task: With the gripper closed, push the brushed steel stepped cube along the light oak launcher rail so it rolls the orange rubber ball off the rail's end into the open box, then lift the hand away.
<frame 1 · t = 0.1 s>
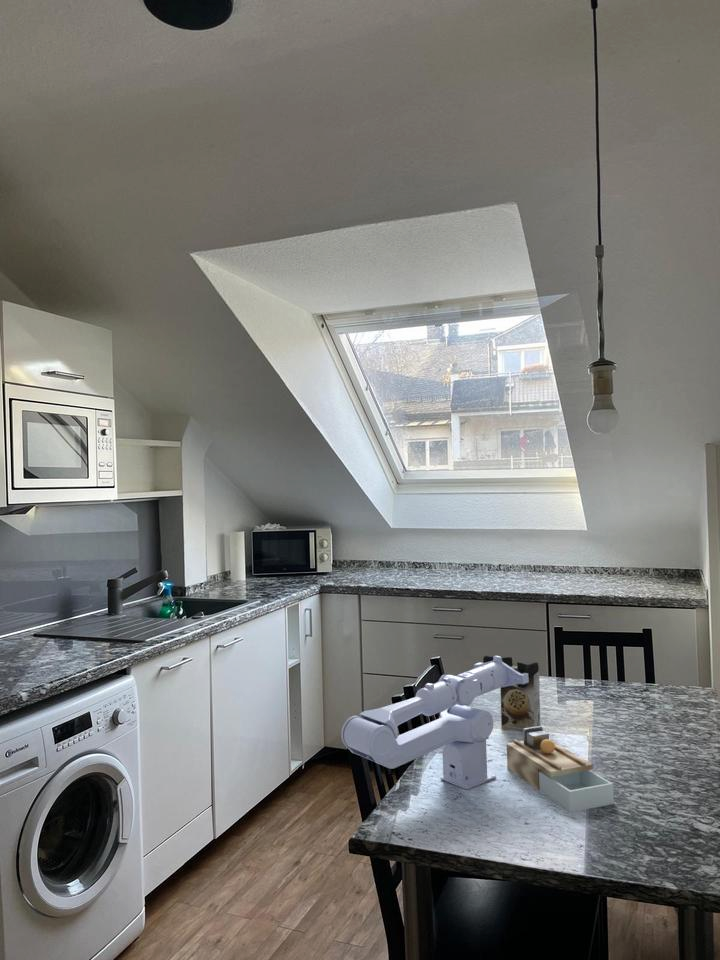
hand: (523, 664, 175), 22 cm above the table, tool horizontal, fingers open, 7 cm apart
launcher: (546, 777, 161), on the table
coffee box: (521, 728, 195), on the table
brushed steel stepped cube: (536, 737, 165), point 8 cm above the table, slide at 0.0 cm
ball: (547, 746, 161), point 7 cm above the table, touching launcher
open box: (575, 797, 151), on the table
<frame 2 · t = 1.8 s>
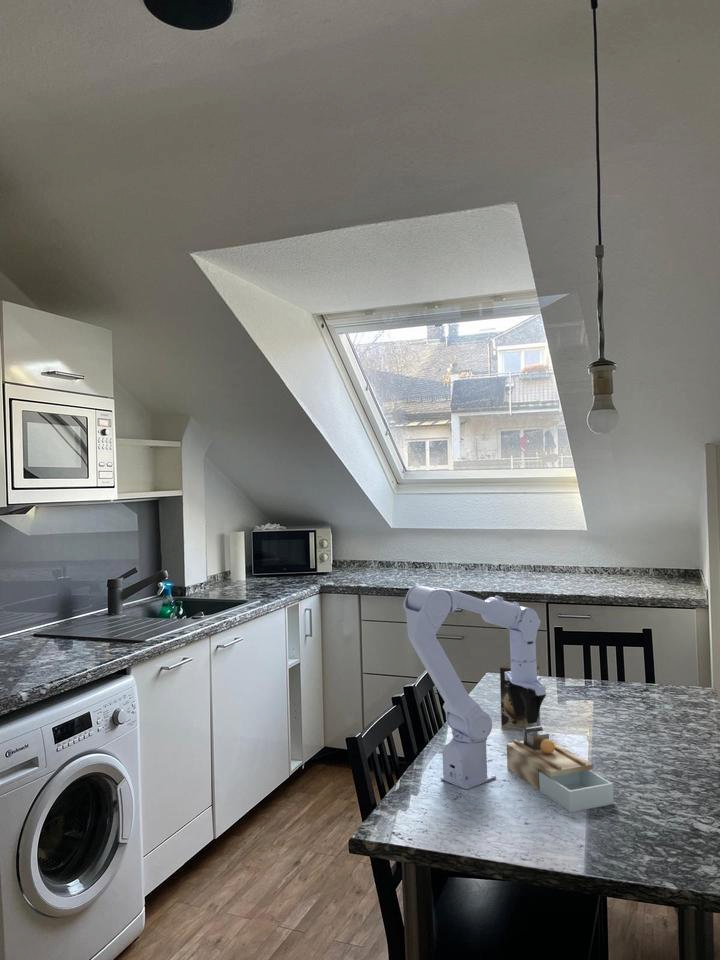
hand: (525, 719, 169), 10 cm above the table, tool pointing down, fingers open, 5 cm apart
nothing on the table moved.
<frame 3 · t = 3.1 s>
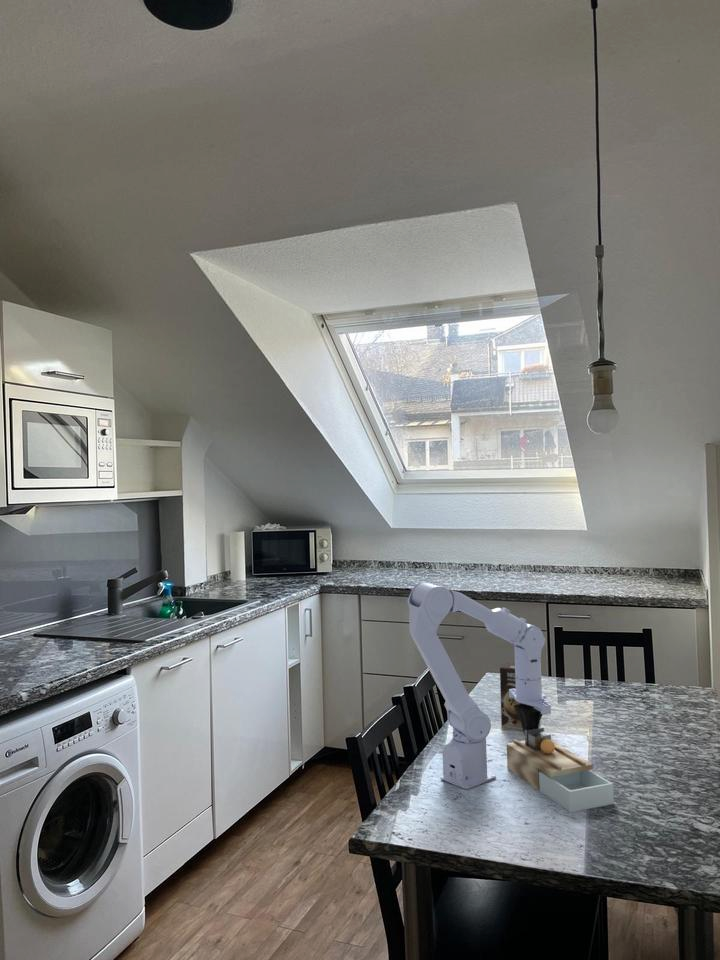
hand: (530, 737, 167), 7 cm above the table, tool pointing down, fingers closed
brushed steel stepped cube: (538, 738, 164), point 8 cm above the table, slide at 0.7 cm, touching gripper
everything else where it was.
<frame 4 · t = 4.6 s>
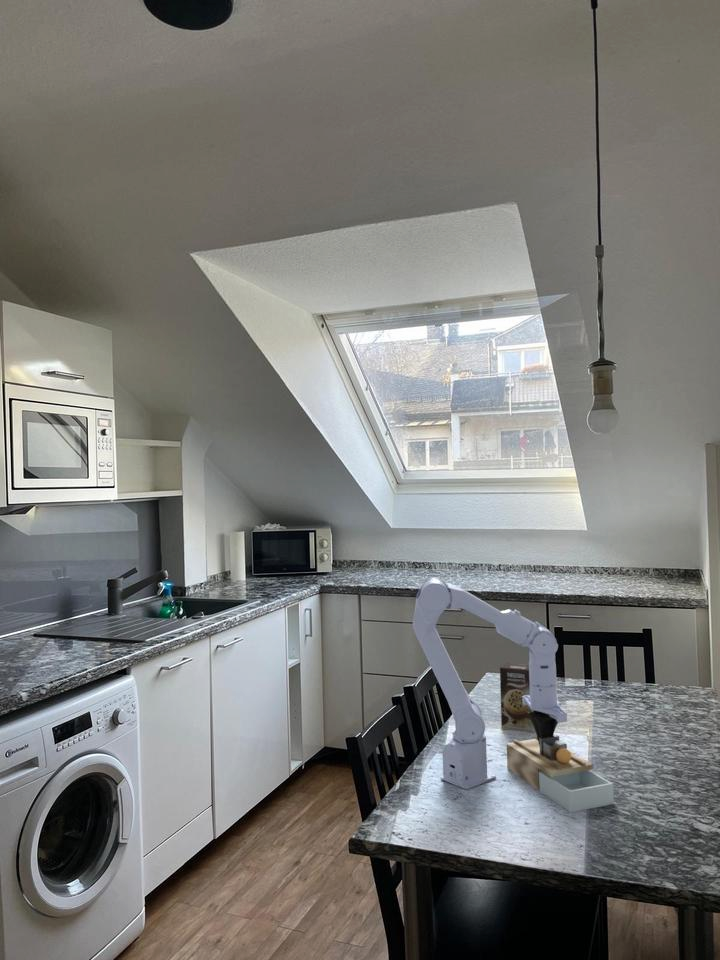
hand: (545, 746, 161), 7 cm above the table, tool pointing down, fingers closed
brushed steel stepped cube: (553, 747, 158), point 8 cm above the table, slide at 6.7 cm, touching gripper
ball: (563, 755, 155), point 7 cm above the table, tilted 129°, touching launcher
everything else where it was.
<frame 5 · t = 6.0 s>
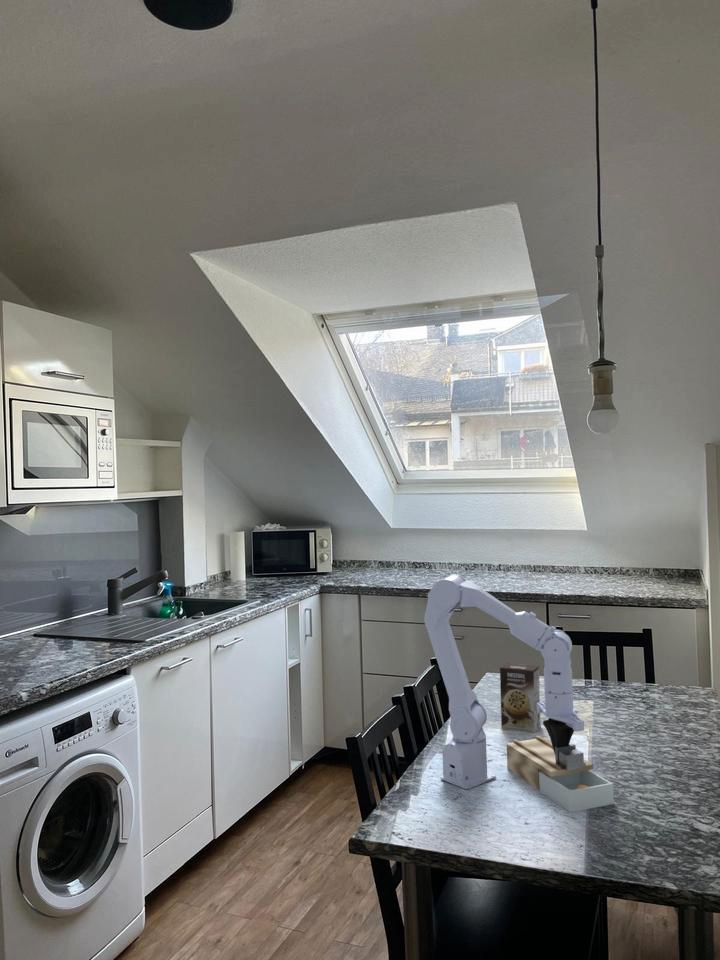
hand: (560, 755, 156), 7 cm above the table, tool pointing down, fingers closed
brushed steel stepped cube: (569, 757, 153), point 8 cm above the table, slide at 12.7 cm, touching gripper
ball: (583, 792, 149), point 2 cm above the table, tilted 160°, touching open box
everything else where it was.
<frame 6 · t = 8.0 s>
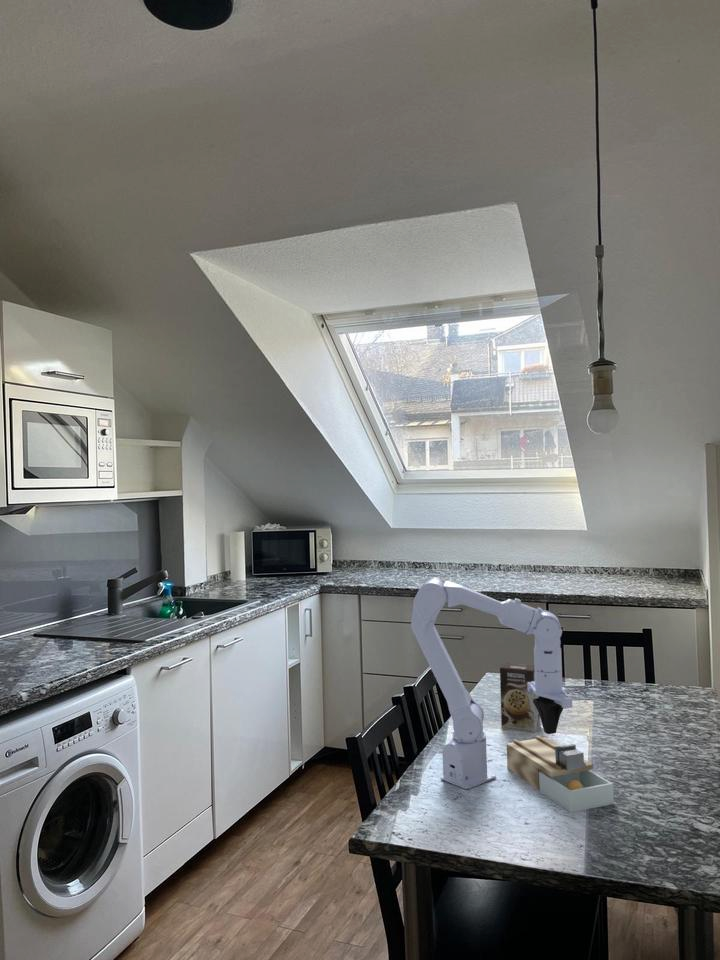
hand: (550, 732, 160), 10 cm above the table, tool pointing down, fingers closed
brushed steel stepped cube: (569, 757, 153), point 8 cm above the table, slide at 12.7 cm
ball: (575, 787, 151), point 2 cm above the table, tilted 56°, touching open box
everything else where it was.
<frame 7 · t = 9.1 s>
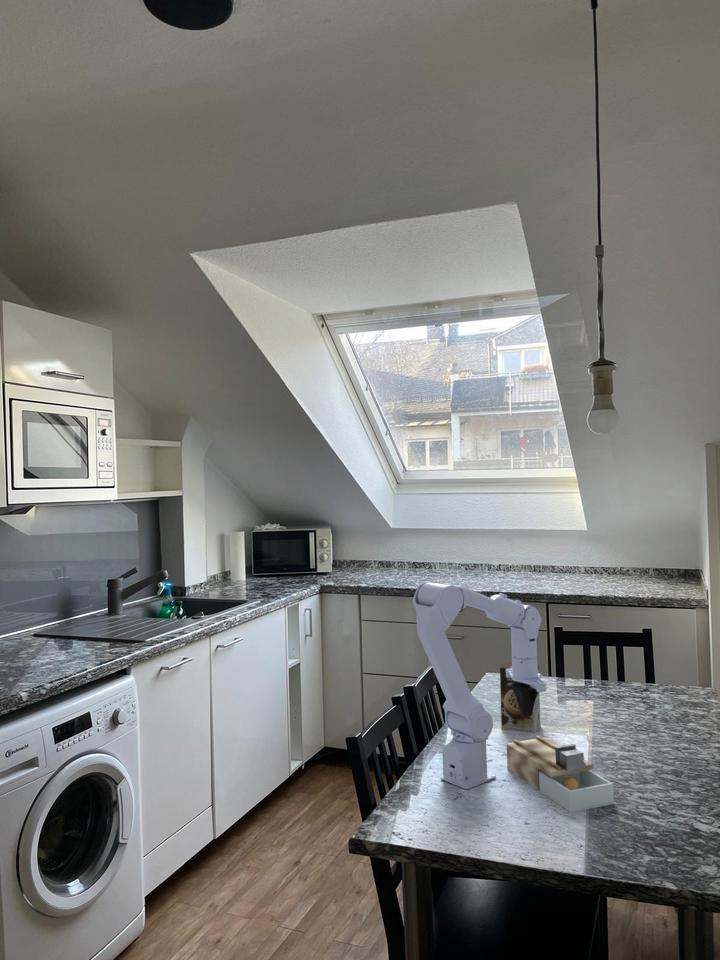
hand: (526, 715, 172), 10 cm above the table, tool pointing down, fingers closed
ball: (570, 784, 153), point 2 cm above the table, touching open box
everything else where it was.
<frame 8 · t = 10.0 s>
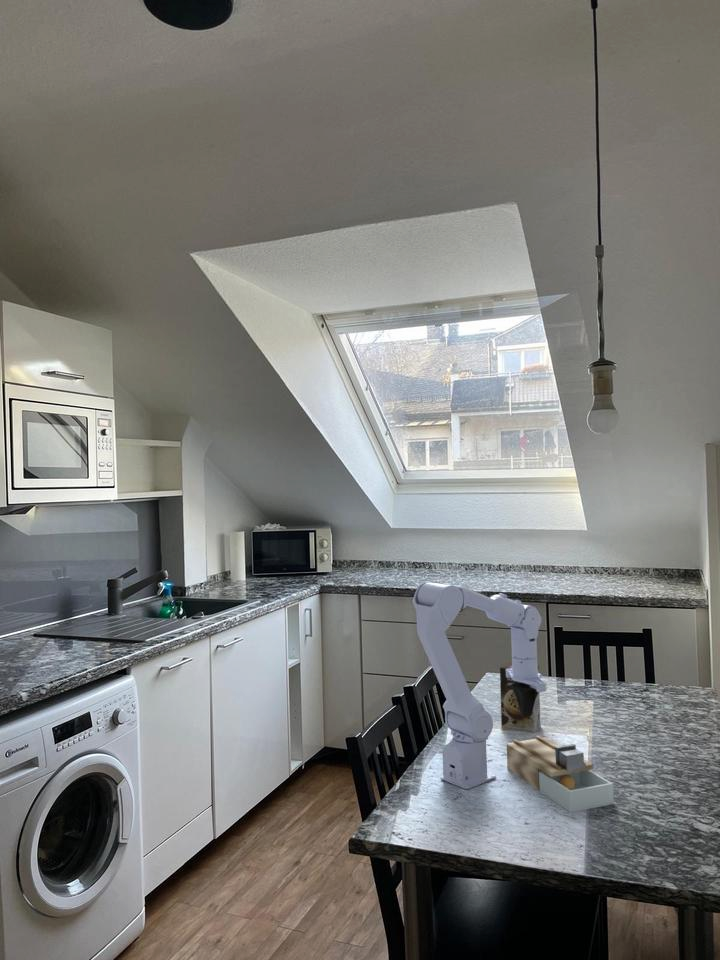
hand: (526, 715, 172), 10 cm above the table, tool pointing down, fingers closed
ball: (567, 782, 154), point 2 cm above the table, tilted 49°, touching open box
everything else where it was.
at the end: ball 2.9 cm from the open box (horizontally); ball point 1.9 cm above the table; brushed steel stepped cube slide at 12.7 cm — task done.
